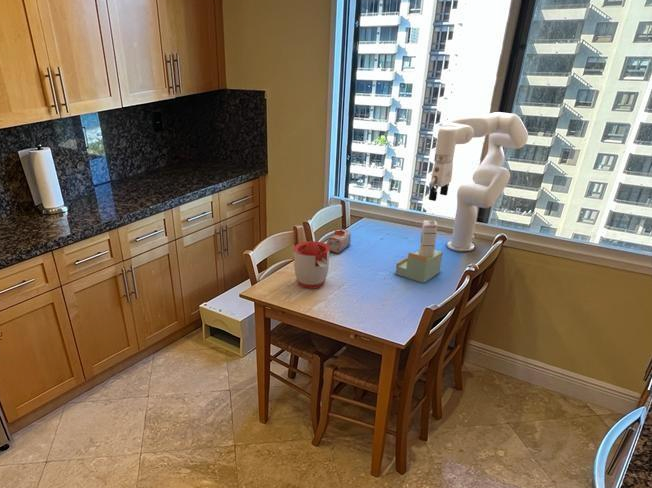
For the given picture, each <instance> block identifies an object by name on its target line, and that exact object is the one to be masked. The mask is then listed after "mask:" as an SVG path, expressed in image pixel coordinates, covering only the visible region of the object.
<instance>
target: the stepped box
mask: <svg viewBox="0 0 652 488" xmlns="http://www.w3.org/2000/svg"><path fill="white" fill-rule="evenodd" d="M443 253H444V252H443V251H441V250H437V249H434V256H421V255H420V251H419V250H417V251H415V252H411V251H409V252H408V254H407V256H406V257H404V258H403V259H401V260H400V261H398V262H396V268H395V275H398V276H400V277H404V278H407V279H410V280H412V281H416V282H419V283H422V284H424V283H426V282H427V281H429V280H430V279H432V278H433V277H435V276H437V275H438V274H439V273H440V271H441V265H442V259H443Z"/></svg>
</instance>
